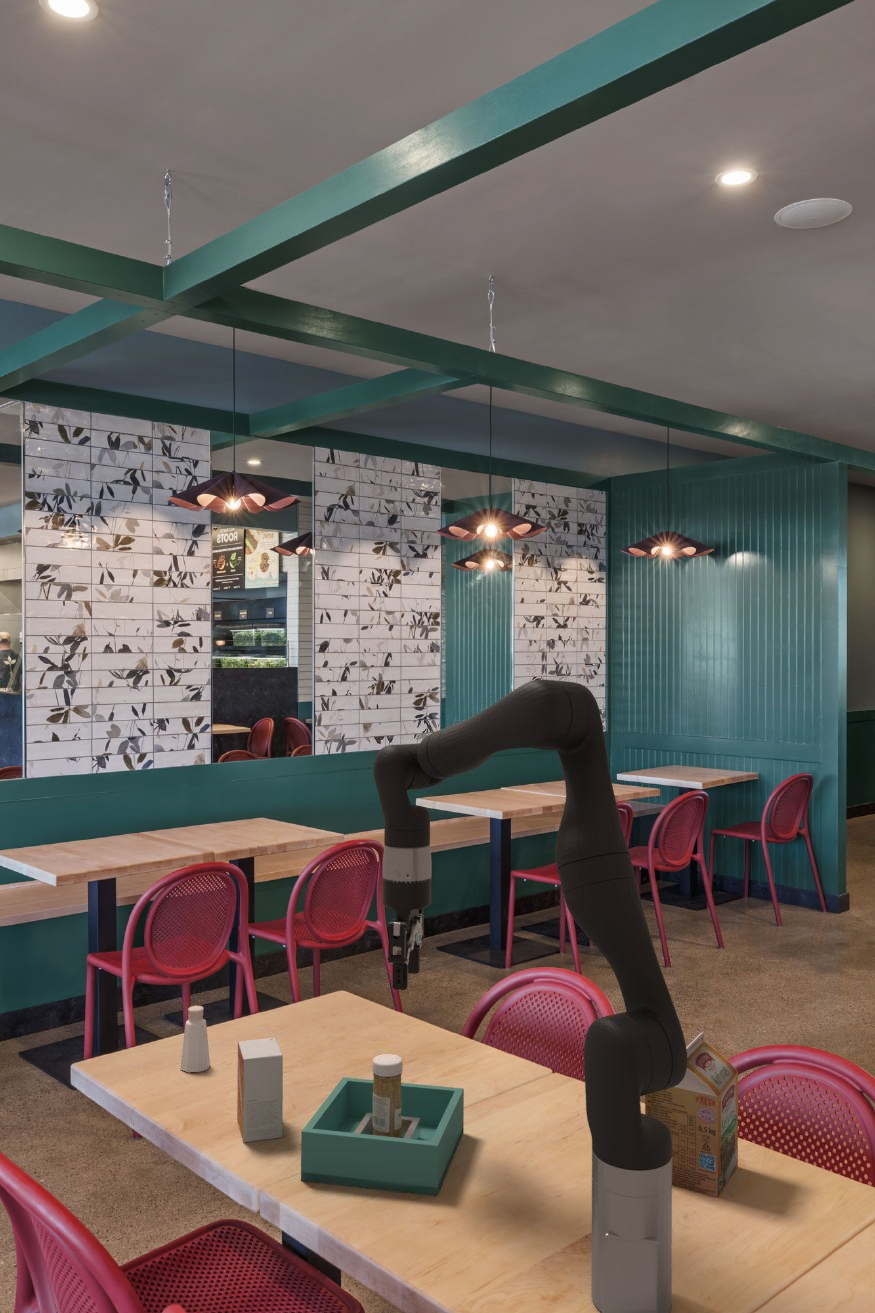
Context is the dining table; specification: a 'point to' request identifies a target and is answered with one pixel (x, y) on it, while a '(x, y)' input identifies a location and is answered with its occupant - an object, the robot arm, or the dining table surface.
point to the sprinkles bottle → (387, 1095)
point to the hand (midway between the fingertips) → (406, 980)
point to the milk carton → (701, 1120)
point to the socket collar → (408, 1127)
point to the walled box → (383, 1140)
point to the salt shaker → (195, 1042)
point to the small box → (260, 1089)
